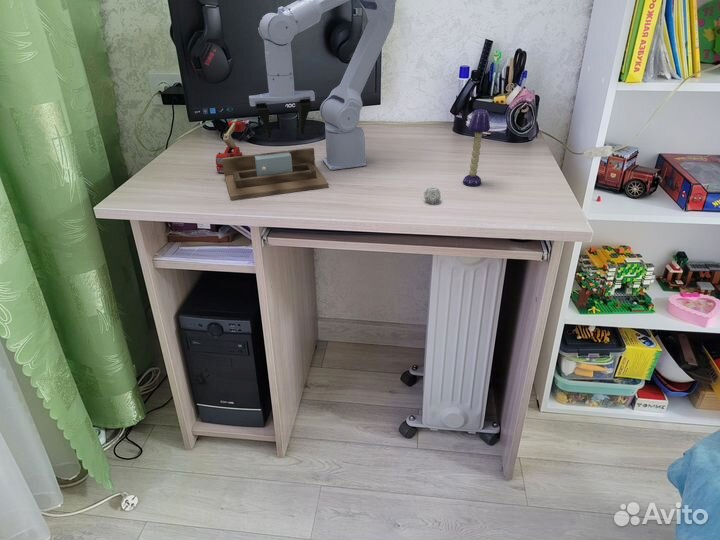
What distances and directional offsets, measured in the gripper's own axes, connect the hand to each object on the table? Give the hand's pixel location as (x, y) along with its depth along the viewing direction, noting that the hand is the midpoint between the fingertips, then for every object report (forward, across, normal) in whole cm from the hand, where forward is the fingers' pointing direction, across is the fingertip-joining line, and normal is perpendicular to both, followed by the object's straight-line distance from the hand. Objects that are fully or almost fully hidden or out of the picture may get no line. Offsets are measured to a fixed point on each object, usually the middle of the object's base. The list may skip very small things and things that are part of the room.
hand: (285, 134), depth 127 cm
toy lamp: (+10, -39, +20) cm, 45 cm away
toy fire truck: (+10, +12, -12) cm, 20 cm away
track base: (+10, +4, +4) cm, 11 cm away
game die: (+10, -26, +26) cm, 38 cm away
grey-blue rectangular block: (+9, +4, +4) cm, 11 cm away
